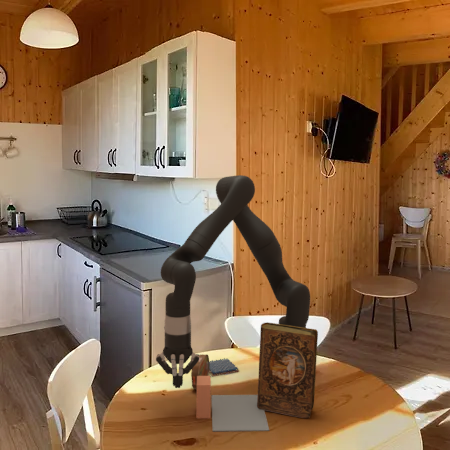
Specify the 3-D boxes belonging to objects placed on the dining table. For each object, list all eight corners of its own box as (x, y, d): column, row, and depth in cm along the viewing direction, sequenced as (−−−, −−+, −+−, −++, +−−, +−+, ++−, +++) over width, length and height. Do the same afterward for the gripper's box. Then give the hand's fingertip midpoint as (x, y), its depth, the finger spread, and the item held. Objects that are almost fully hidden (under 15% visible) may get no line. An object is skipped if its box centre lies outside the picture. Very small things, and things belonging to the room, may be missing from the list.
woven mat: (227, 362, 178) (227, 356, 178) (240, 373, 169) (240, 368, 169) (201, 366, 174) (201, 361, 174) (212, 378, 165) (212, 373, 164)
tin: (199, 394, 153) (199, 369, 152) (189, 393, 153) (189, 368, 152) (210, 373, 167) (210, 350, 166) (201, 373, 168) (201, 349, 167)
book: (255, 408, 144) (258, 327, 140) (259, 400, 149) (263, 321, 145) (310, 419, 138) (315, 336, 135) (313, 410, 144) (318, 329, 140)
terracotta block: (210, 407, 145) (210, 375, 143) (210, 418, 139) (210, 385, 137) (196, 407, 144) (196, 375, 143) (196, 418, 138) (196, 385, 137)
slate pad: (260, 395, 152) (260, 394, 152) (269, 430, 132) (269, 429, 132) (211, 396, 152) (211, 395, 152) (212, 431, 132) (212, 430, 132)
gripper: (201, 324, 142) (200, 380, 144) (155, 324, 141) (156, 381, 144) (201, 333, 134) (200, 392, 137) (153, 333, 134) (153, 393, 136)
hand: (177, 386), depth 140 cm, fingers closed
